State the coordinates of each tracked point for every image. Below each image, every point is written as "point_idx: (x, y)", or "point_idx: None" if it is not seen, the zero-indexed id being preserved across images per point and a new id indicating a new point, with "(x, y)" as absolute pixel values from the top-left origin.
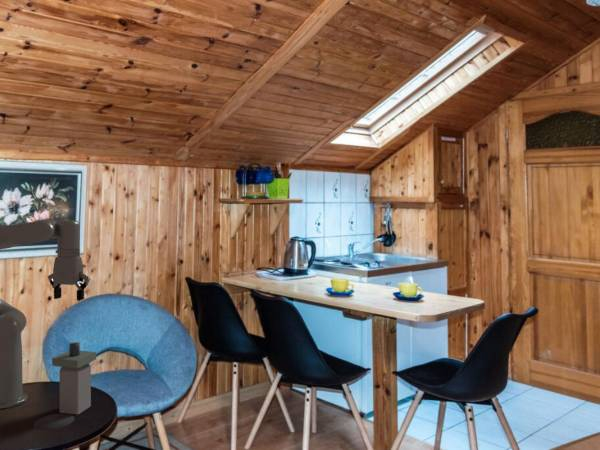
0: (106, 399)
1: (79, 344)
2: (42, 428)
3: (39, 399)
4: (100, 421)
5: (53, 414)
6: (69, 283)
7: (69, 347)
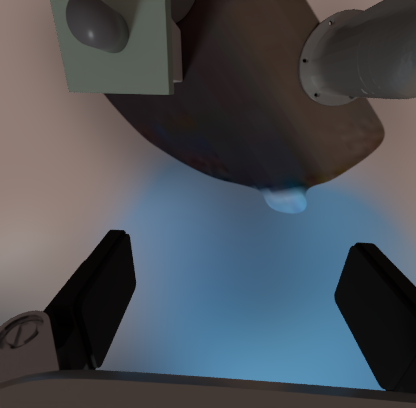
0: (140, 129)
1: (73, 32)
2: None
3: (274, 94)
4: None
5: (184, 13)
6: (97, 396)
7: (106, 5)
